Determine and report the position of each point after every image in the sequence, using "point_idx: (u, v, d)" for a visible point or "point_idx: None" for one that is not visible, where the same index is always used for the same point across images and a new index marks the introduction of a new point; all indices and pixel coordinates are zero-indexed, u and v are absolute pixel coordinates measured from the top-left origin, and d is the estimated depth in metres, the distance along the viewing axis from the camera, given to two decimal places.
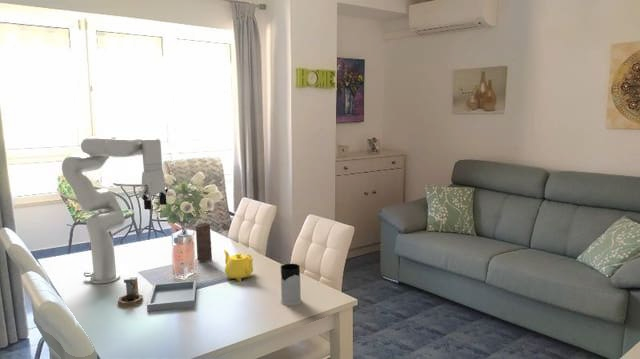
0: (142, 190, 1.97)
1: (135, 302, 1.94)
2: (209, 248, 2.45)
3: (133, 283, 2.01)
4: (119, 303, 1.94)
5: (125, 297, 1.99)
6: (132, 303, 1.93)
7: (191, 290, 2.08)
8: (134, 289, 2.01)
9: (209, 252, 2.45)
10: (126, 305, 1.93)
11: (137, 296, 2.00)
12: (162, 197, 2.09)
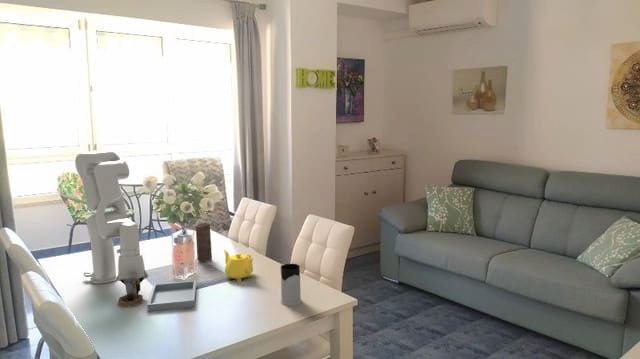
0: None
1: (135, 302, 1.94)
2: (209, 248, 2.45)
3: (133, 283, 2.01)
4: (119, 303, 1.94)
5: (125, 297, 1.99)
6: (132, 303, 1.93)
7: (191, 290, 2.08)
8: (134, 289, 2.01)
9: (209, 252, 2.45)
10: (126, 305, 1.93)
11: (137, 296, 2.00)
12: None
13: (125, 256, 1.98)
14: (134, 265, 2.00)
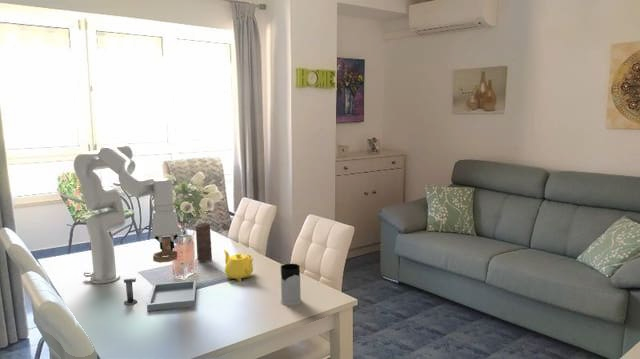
0: (181, 231, 2.03)
1: (171, 257, 1.91)
2: (209, 248, 2.45)
3: (167, 240, 1.98)
4: (154, 258, 1.91)
5: (160, 253, 1.96)
6: (168, 258, 1.90)
7: (191, 290, 2.08)
8: (168, 246, 1.99)
9: (209, 252, 2.45)
10: (162, 260, 1.90)
11: (172, 253, 1.97)
12: None
13: (160, 212, 1.96)
14: (168, 221, 1.98)
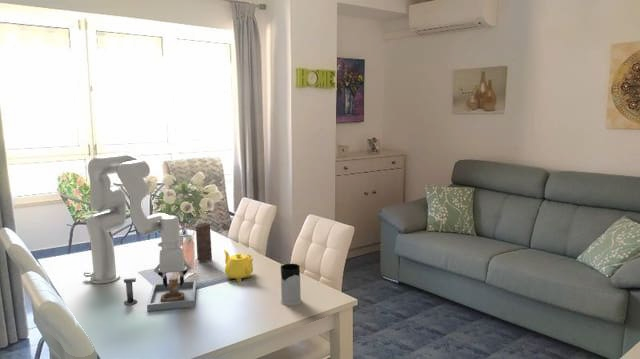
0: (189, 265, 2.06)
1: (178, 299, 1.95)
2: (209, 248, 2.45)
3: (174, 281, 2.02)
4: (162, 300, 1.95)
5: (167, 295, 2.00)
6: (175, 300, 1.94)
7: (191, 290, 2.08)
8: (175, 287, 2.02)
9: (209, 252, 2.45)
10: None
11: (179, 294, 2.01)
12: (166, 278, 2.04)
13: (167, 249, 1.99)
14: (175, 258, 2.01)
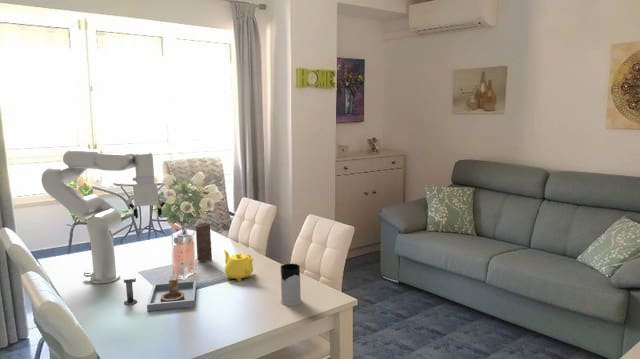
0: (165, 197, 2.17)
1: (178, 299, 1.95)
2: (209, 248, 2.45)
3: (174, 281, 2.02)
4: (162, 300, 1.95)
5: (167, 295, 2.00)
6: (175, 300, 1.94)
7: (191, 290, 2.08)
8: (175, 287, 2.02)
9: (209, 252, 2.45)
10: None
11: (179, 294, 2.01)
12: (137, 210, 2.14)
13: (141, 183, 2.09)
14: (149, 192, 2.11)
